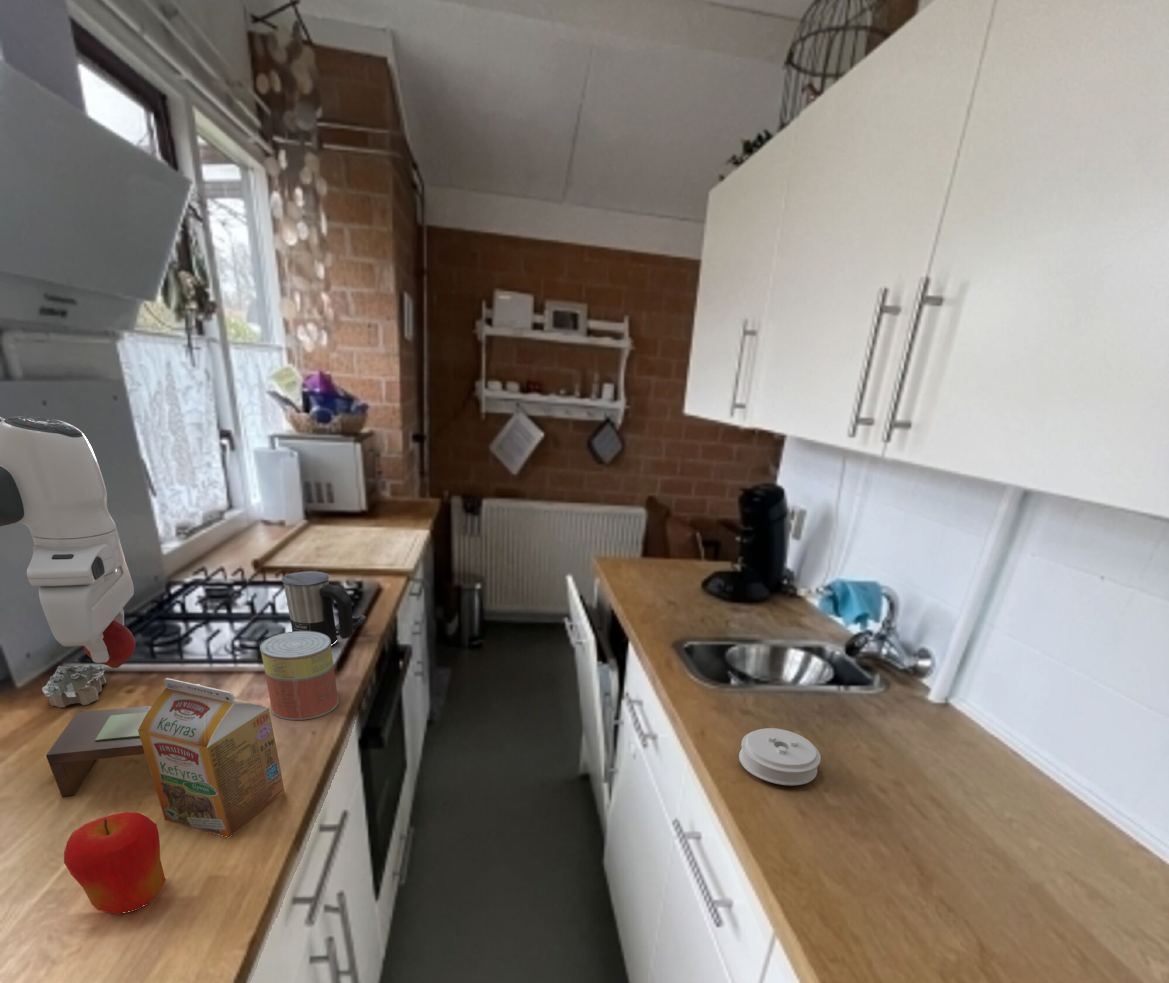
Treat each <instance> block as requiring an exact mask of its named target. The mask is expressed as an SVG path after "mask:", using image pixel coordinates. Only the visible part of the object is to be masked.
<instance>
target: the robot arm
mask: <svg viewBox="0 0 1169 983" xmlns="http://www.w3.org/2000/svg"><path fill="white" fill-rule="evenodd" d="M12 524H19V525H20V524H21V525H24V526H26V527H27V528H28V530H29V532H30V536H31V538H32V542H33V547H32V557H31V560H30V562H29V564H28V566H27V569H26V577H27V579H28V583H29V584H30V586H31V587H39V589H38V597H39V602H40V605H41V608H42V611H43V614H44V616H45V619H46V622H47V624H48V626H49V628H50V631H51V633H52V635H53V637H54V639H55V640H56V641H57V642H58V644H60V645H61V646H62V647H82V646H83V647H84V646H85V647H86V648H87V649H88V650H89V651H90V654H91V657H92V659H91V660H92V661H93V662H94V663H96V664H102V662H107V661H108V660H109V659H110V657H111V653H110V649H109V646H106V645H105V643H104V641H103V638H104V636H103V632H104V630H105V629H106V628H107V627H108V625H109V624H110V623H111V622H112V621H113V620H114V621H116V622H119V623H121V624H122V625H124V626H125V610H124V608H125V606H126V605H127V604H128V603H129V601H130V600H131V599H132V598H133V597H134V595H135V588H134V583H133V579H132V576H131V573H130V570H129V567H128V565H127V562H126V558H125V553H124V550H123V546H122V543H121V539H120V535H119V532H118V528H117V524H116V522H115V521H114V519H113V517H112V516H111V514H110V512H109V509H108V491H107V488H106V484H105V480H104V477H103V474H102V470H101V469H100V465H99V462H98V459H97V456H96V454H95V452H94V450H93V447H92V445H91V443H90V441H89V440H88V438H87V436H85V434H84V433H83V431H82V430H80V429H79V428H78V427H76V426H75V425H72V424H70V423H68V422H65V421H63V420H59V419H54V418H49V417H44V416H43V417H42V416H30V415H16V416H10V417H6V418H3V417H1V416H0V527H3V526H9V525H12Z"/></svg>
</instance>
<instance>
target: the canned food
mask: <svg viewBox="0 0 1169 983" xmlns="http://www.w3.org/2000/svg"><path fill="white" fill-rule="evenodd" d="M259 651H260V654H261V658H262V664H263V670H264V675H265V681H266V685H267V692H268V697H269V702H270V711H271V713H272V714H273V715H274V716H276V717H277V718H280V719H283V720H289V721H304V720H305V721H307V720H311V719H316V718H319V717H322V716H325V715H327V714H329V713H331V712H332V711H334V710H335V709H336V708H337V707H338V705H339V702H340V699H339V696H338V689H337V681H336V673H335V666H334V659H333V651H332V647H331V639H330V638H329V637H328V636H327V635H325V634H322V633H319V632H312V631H294V632H292V631H288V632H283V633H279V634H275V635H273V636H270V637H268V638H266V639H265V640H263V641H262V642H261V644H259Z"/></svg>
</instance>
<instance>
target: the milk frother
mask: <svg viewBox="0 0 1169 983" xmlns="http://www.w3.org/2000/svg"><path fill="white" fill-rule="evenodd" d="M330 578H331V577H330V575H329V574H328V573H326V572H323V571H317V570H315V571H314V570H313V571H312V570H309V571H308V570H307V571H298V572H292V573H289V574H286V575H284V576H282V578H281V582H282V583H283V587H284V592H285V593H284V594H285V598H286V604H287V609H288V614H289V620H290V626H291V632H294V631H312V632H319V633H322V634H325V635H327V636H328V637H329V638H330V639H331V644H333V643H334V642H335V641H336V640H337V638H338V636H340V638H341V639H348V638H349V637H351V636H352V635H353V634H354V629H356V628H358V627H359V626H361V625H363V624H364V623H365V622H366V621H367V616H365V615H363V614H360V615H359V614H358V615H353V608H352V607H353V606H352V600H351V596H350V595H349V593H348V592H347V590H345V589H344V588H342V587H341V586H338V585H333V584H330V582H329V579H330ZM332 599H333V600H334V602H335V603H336V606H337V617H338V623H336V621H335V620H336V619H335V614H334V607H333V606H334V605H333V602H332V601H333V600H332Z"/></svg>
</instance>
